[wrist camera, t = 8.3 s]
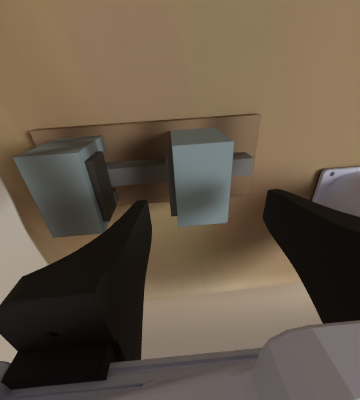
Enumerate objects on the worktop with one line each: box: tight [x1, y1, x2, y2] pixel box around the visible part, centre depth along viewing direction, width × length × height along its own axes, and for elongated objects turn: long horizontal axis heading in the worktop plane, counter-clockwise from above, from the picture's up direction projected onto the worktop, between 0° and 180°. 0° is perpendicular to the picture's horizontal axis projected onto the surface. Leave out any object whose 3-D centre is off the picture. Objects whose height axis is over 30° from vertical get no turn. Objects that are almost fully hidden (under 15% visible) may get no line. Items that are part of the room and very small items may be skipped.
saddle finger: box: [165, 127, 234, 227], centre depth 16 cm, size 4×6×6 cm
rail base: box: [13, 114, 261, 238], centre depth 17 cm, size 20×8×6 cm, turn 93°
